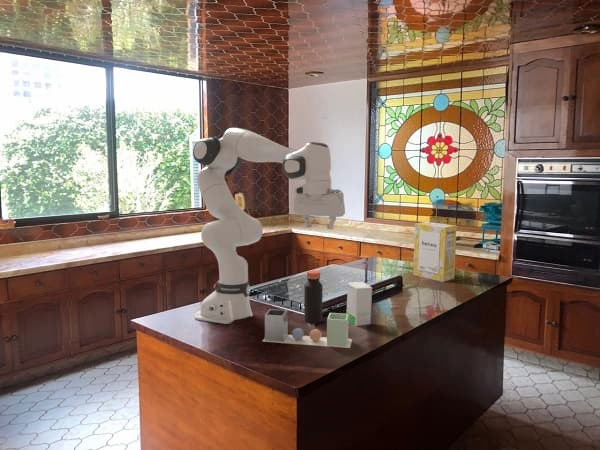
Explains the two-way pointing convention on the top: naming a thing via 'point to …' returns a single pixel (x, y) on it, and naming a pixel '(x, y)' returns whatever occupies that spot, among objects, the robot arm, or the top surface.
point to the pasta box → (435, 251)
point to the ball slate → (297, 333)
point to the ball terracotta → (315, 335)
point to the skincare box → (359, 303)
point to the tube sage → (337, 329)
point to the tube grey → (276, 325)
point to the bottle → (313, 298)
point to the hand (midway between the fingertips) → (319, 228)
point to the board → (309, 341)
